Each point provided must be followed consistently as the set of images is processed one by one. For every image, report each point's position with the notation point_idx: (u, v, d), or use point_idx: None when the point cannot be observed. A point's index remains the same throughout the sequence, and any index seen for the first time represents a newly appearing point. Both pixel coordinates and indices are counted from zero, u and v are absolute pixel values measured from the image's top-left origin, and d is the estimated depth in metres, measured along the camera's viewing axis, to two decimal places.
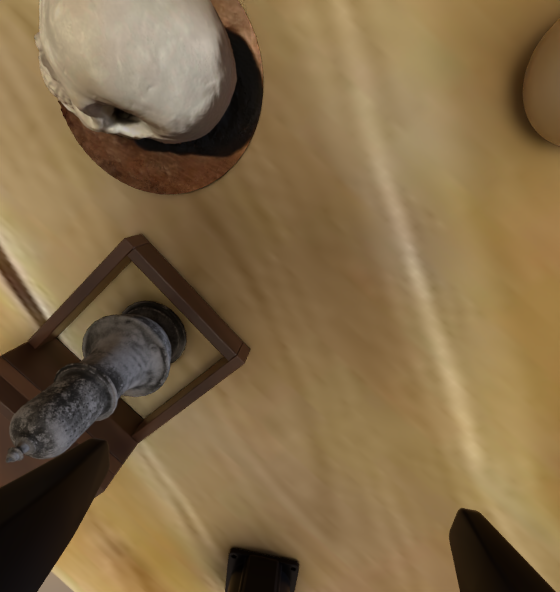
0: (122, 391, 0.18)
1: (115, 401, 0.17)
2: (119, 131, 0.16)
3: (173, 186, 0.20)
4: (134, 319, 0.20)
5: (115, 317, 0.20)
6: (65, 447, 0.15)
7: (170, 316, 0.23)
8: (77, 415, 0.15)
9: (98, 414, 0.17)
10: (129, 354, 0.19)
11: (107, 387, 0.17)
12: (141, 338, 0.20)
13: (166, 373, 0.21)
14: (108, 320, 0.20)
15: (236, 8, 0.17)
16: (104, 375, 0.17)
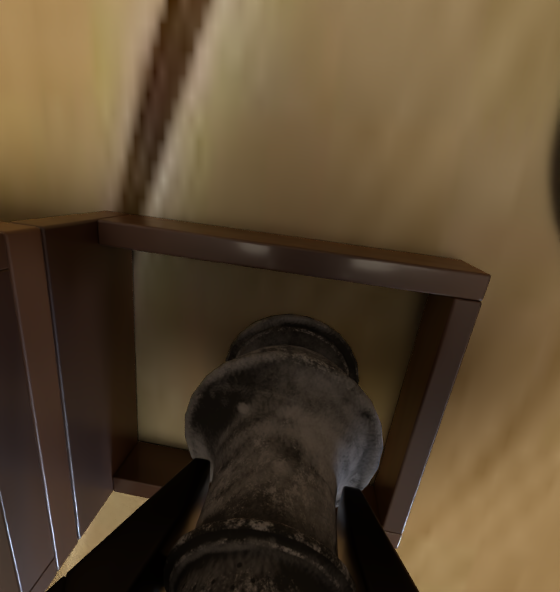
0: None
1: None
2: None
3: None
4: (378, 419, 0.09)
5: (353, 388, 0.09)
6: None
7: None
8: None
9: None
10: None
11: None
12: (357, 458, 0.09)
13: None
14: (337, 381, 0.09)
15: None
16: None
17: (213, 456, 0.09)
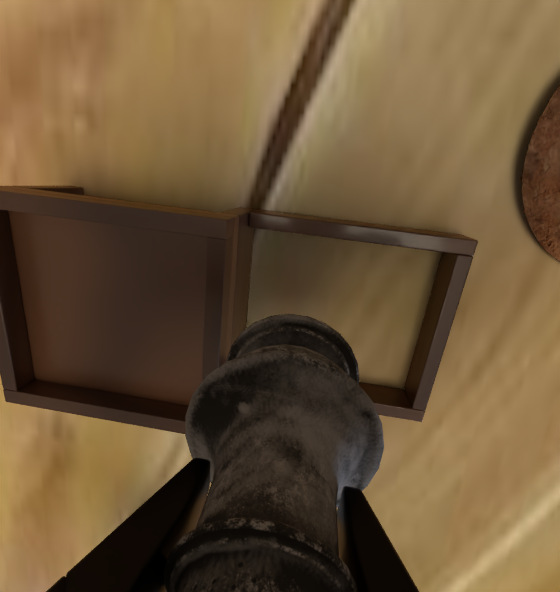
0: None
1: None
2: None
3: (549, 238, 0.17)
4: (378, 419, 0.09)
5: (353, 388, 0.09)
6: None
7: None
8: None
9: None
10: (337, 492, 0.08)
11: None
12: (358, 458, 0.09)
13: None
14: (337, 380, 0.09)
15: None
16: None
17: (214, 456, 0.09)
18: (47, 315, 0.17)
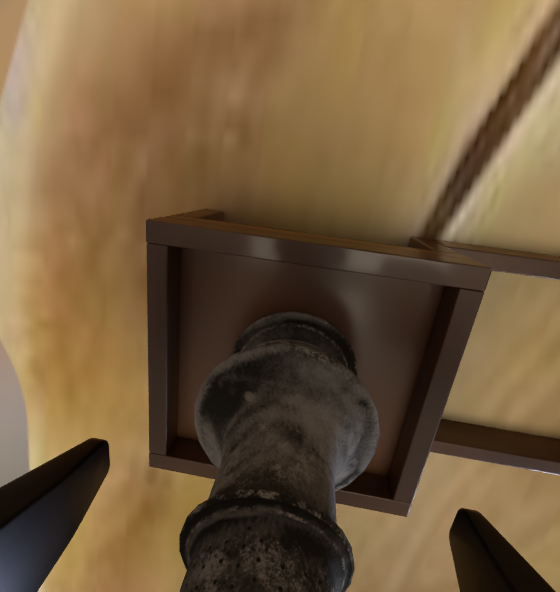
0: None
1: None
2: None
3: None
4: (374, 408, 0.10)
5: (351, 378, 0.09)
6: None
7: None
8: None
9: None
10: None
11: None
12: (355, 444, 0.10)
13: None
14: (336, 371, 0.09)
15: None
16: (351, 578, 0.07)
17: (221, 442, 0.10)
18: (207, 367, 0.14)
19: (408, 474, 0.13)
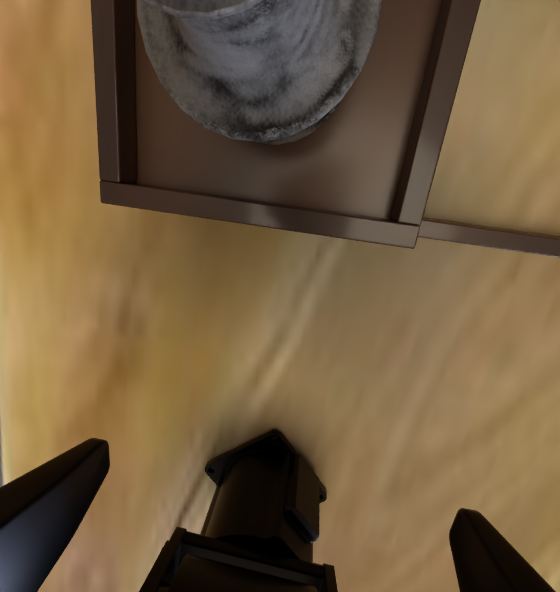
0: (254, 19, 0.06)
1: None
2: None
3: None
4: None
5: None
6: None
7: None
8: None
9: None
10: None
11: None
12: None
13: (298, 126, 0.08)
14: None
15: None
16: None
17: None
18: None
19: (417, 178, 0.11)
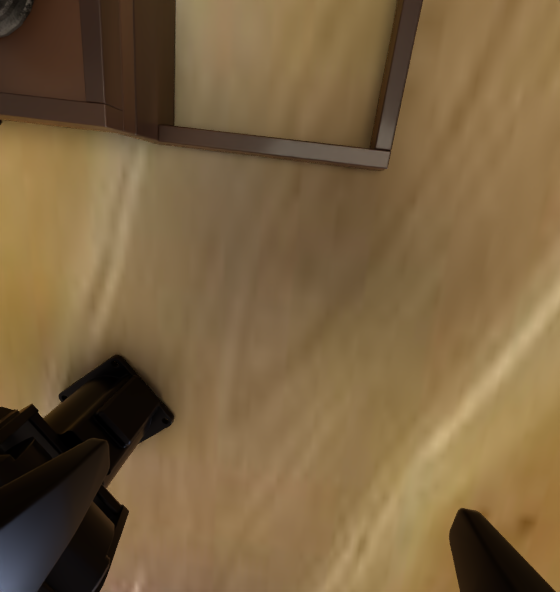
0: None
1: None
2: None
3: None
4: None
5: None
6: None
7: None
8: None
9: None
10: None
11: None
12: None
13: None
14: None
15: None
16: None
17: None
18: None
19: (89, 56, 0.12)
